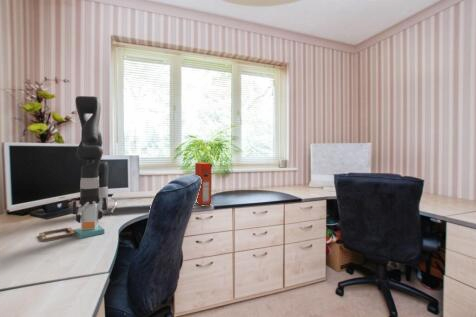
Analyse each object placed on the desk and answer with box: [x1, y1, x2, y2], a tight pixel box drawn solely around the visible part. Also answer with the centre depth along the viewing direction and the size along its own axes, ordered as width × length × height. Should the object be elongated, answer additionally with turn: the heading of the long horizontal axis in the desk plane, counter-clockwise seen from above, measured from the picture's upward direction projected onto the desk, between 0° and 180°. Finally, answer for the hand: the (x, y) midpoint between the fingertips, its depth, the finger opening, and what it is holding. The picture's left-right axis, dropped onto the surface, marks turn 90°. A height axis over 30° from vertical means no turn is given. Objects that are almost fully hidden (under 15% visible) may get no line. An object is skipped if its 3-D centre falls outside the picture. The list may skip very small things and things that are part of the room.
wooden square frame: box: [38, 227, 77, 242], centre depth 108 cm, size 12×12×1 cm
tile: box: [73, 224, 105, 240], centre depth 111 cm, size 10×10×2 cm
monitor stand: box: [109, 190, 159, 215], centre depth 166 cm, size 37×28×11 cm
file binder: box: [194, 162, 212, 206], centre depth 182 cm, size 8×17×32 cm, turn 26°
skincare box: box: [80, 203, 99, 230], centre depth 111 cm, size 6×4×12 cm
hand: (89, 220), depth 111 cm, fingers open, 8 cm apart
